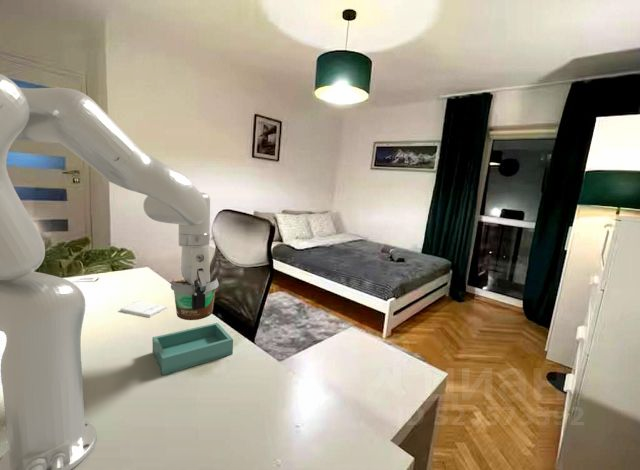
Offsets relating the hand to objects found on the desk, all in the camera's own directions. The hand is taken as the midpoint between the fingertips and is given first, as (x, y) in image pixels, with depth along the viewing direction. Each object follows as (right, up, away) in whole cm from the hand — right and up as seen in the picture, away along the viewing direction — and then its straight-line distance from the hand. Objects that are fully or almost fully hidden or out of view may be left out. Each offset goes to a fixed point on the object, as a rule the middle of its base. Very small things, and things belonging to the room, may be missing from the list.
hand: (193, 302), depth 82 cm
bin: (-1, -15, +2) cm, 15 cm away
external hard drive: (-29, -9, +27) cm, 41 cm away
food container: (0, -4, 0) cm, 4 cm away
